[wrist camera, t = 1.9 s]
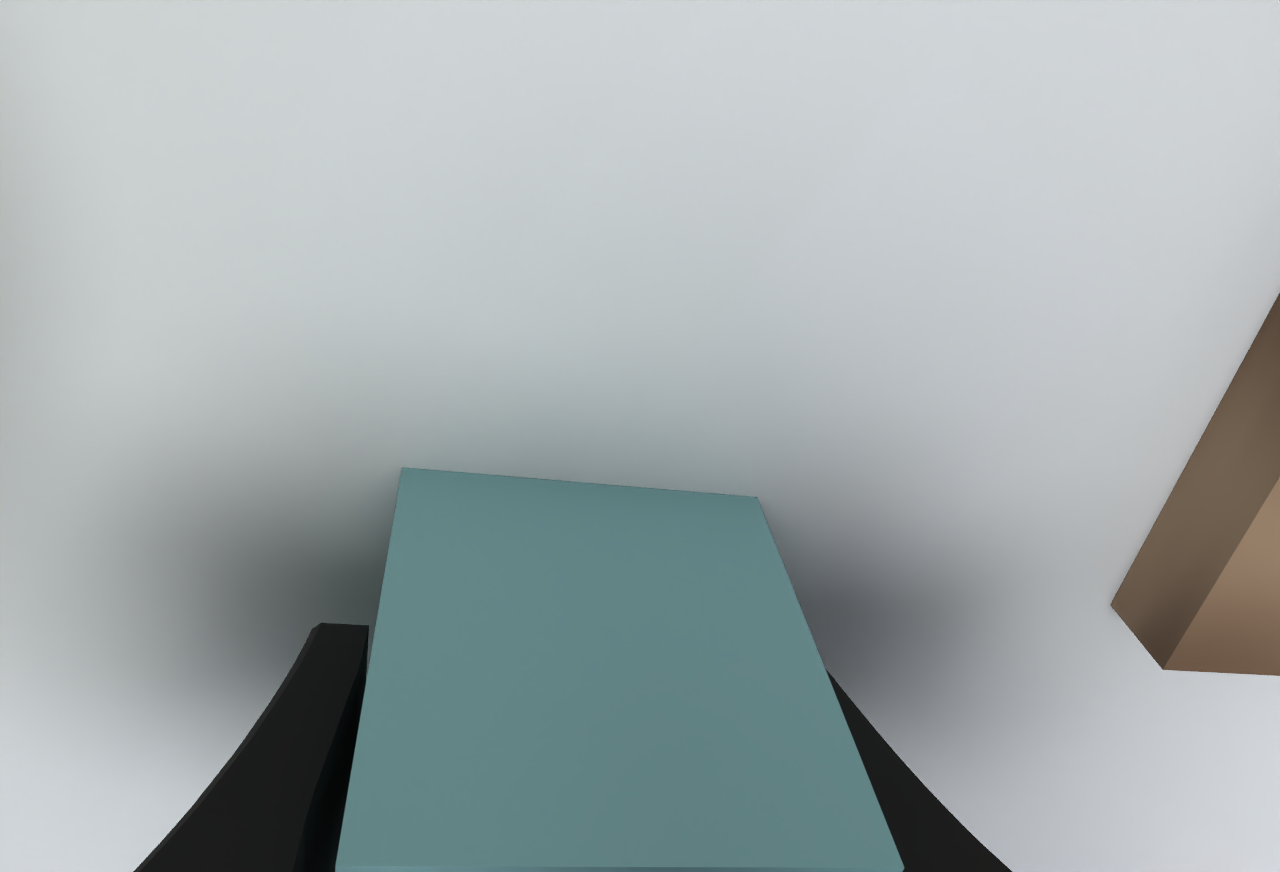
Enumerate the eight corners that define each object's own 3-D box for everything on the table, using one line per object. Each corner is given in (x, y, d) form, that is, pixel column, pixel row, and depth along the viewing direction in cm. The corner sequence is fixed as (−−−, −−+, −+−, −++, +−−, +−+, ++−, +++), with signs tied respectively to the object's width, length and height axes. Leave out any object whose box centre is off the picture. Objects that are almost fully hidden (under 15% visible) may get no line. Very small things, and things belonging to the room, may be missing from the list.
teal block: (686, 736, 16) (769, 1137, 11) (385, 727, 15) (325, 1162, 10) (756, 495, 14) (903, 867, 9) (402, 465, 13) (335, 866, 8)
